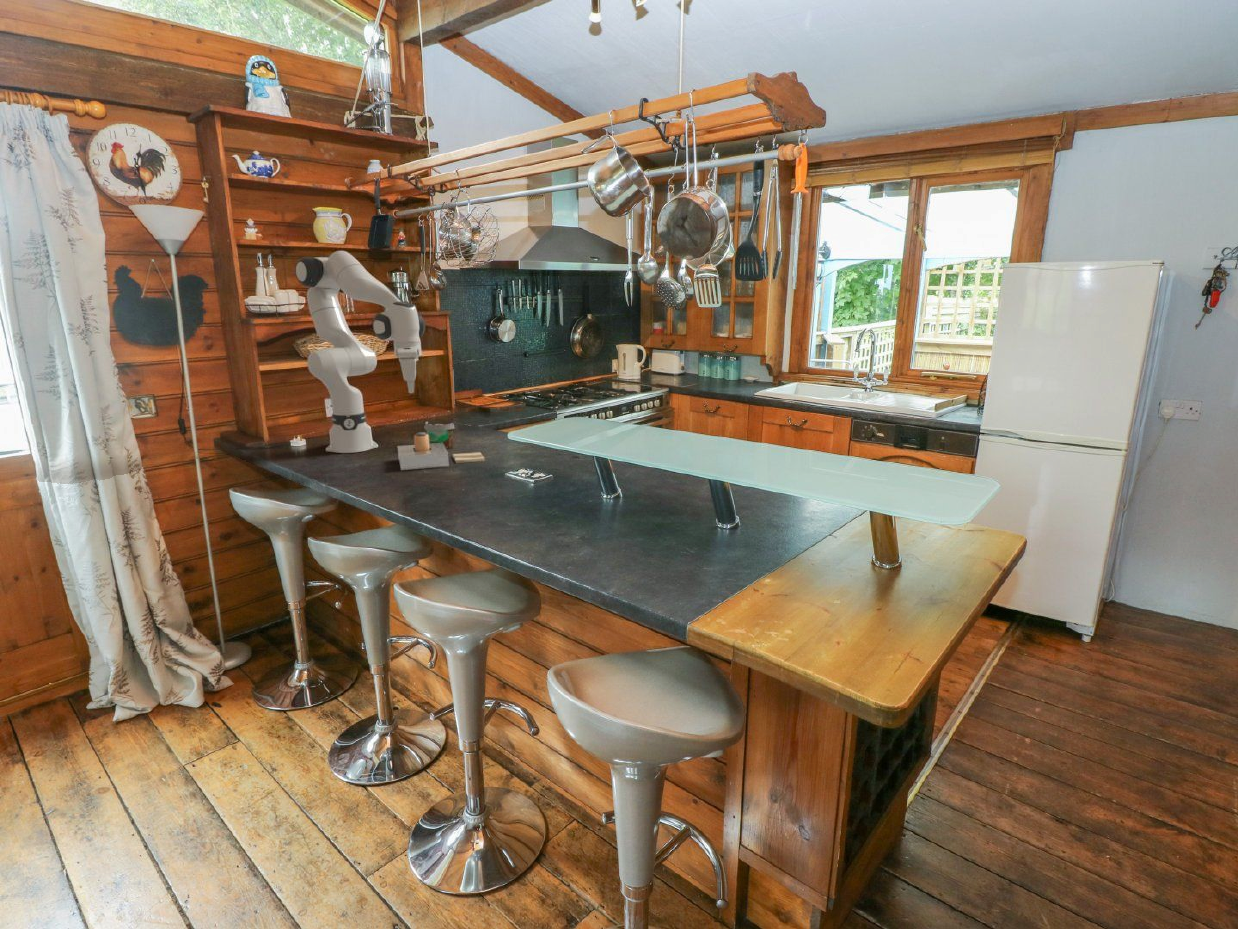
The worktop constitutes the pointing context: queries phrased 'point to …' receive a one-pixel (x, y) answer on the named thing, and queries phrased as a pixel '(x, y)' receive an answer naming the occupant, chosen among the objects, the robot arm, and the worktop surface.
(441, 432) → the food container
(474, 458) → the coaster
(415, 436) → the tan grey-topped cylinder
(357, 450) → the robot arm
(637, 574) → the worktop surface
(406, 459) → the housing
